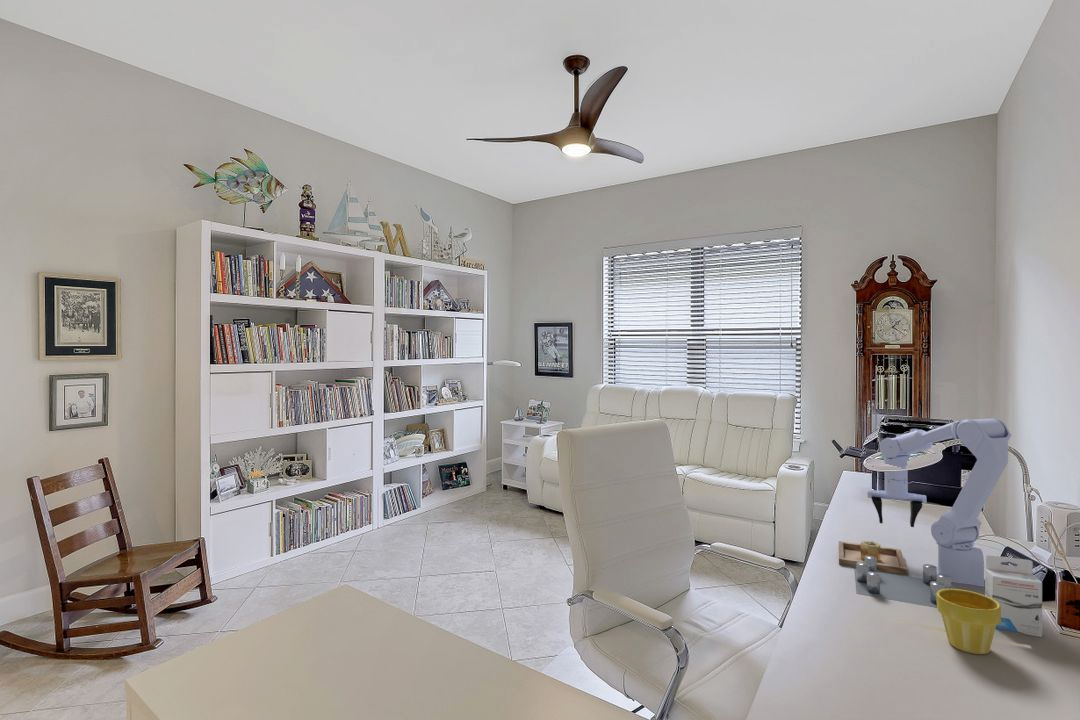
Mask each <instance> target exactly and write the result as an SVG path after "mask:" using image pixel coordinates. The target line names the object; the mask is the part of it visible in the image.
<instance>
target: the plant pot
mask: <svg viewBox="0 0 1080 720" xmlns="http://www.w3.org/2000/svg"><path fill="white" fill-rule="evenodd" d="M936 598H937V608H936V609H937V611H938V612H939V613H940V615H941V618H942V621H943V625H944V629H945V633H946V637H947V641H948V643H949V644H950V645H951V646H952V647H954V648H955V649H958V650H959V651H962V652H965V653H969V654H973V655H987V654H988V653H990V650H991V646H992V643H993V638H994V635H995V633H996V632H995V630H996V629H997V628H996V625H998V624H999V623H1000V621H1001V606H1000V604H999V603H998V602H997V601H995V600H994V599H992V598H990V597H987V596H985V594H982V593H979V592H976V591H971V590H966V589H959V588H951V589H942V590H939V591H938V592H937V594H936Z"/></svg>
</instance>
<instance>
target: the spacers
mask: <svg viewBox="0 0 1080 720" xmlns="http://www.w3.org/2000/svg"><path fill="white" fill-rule="evenodd" d="M855 568H856V570H857V581H858V582H860V583H865V584H867V591H868V592H869V593H871V594H880V574H878V573H877V571H878V570H877V558H876V557H873V556H865V563H863V562H857V563H856V567H855ZM936 569H937V567H936V566H935V565H933V564H928V563H924V564H923V565H922V578H923V583H924V584H926V585H930V602H931V603H933V604H936V605H937V598H936V594H937V592H938V591H939V590H942V589H952V582H951V577H950V576H948V575H944V574H936Z"/></svg>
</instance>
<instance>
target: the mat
mask: <svg viewBox="0 0 1080 720" xmlns="http://www.w3.org/2000/svg"><path fill="white" fill-rule="evenodd" d="M853 571H854V579H855V581H854V582H855V592H856V594H857V595H861V596H867V597H873V598H880V599H885V600H891V601H898V602H901V603H908V604H913V605H917V606H918V605H919V606H924V607H931V608H936V609H937V605H936V604H933V603H931V602H930V585H926V584H924V583H923V577H916V576H910V575H909V576H908V575H904V574H898V573H891V572H885V571H878V570H877V573H878V574H880V594H871V593H869V592H868V591H867V584H865V583H860V582H858V581H857V570H856V567H854V570H853Z"/></svg>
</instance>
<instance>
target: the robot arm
mask: <svg viewBox="0 0 1080 720" xmlns="http://www.w3.org/2000/svg"><path fill="white" fill-rule="evenodd" d="M1011 437H1012V433H1011V431H1010V430H1009V428H1008V426H1007V424H1006V423H1005V422H1003V420H1001V419H1000V418H997V417H988V418H979V419H978V418H977V419H970V418H969V419H963V420H958V421H953V422H950V423H947V424H944V425H942V426H939V427H935V428H934V429H930V430H927V431H926V430H923V429H918V428H911V429H909V432H907V433H904V434H902V433H900V434H899V433H898V434H896V435H895V437H892V438H891V437H886V438H884V439H882V440H881V441H880V442H879V448H878V449H879V452H880V454H881V455H882V456H883V457H884V458H883V460H884V462H883V464H884V463H885V464H889V465H893V466H897V467H901V468H902V469H906V468H905V467H906V466H907V465H908V463H907V461H908V460H909V461H910V456H911V455H912V454H916V453H920V452H924V451H926V450H929V449H931V448H932V446H933V443H937V442H941V441H945V440H950V439H955V440H960V442H961V443H962V444H963V445H964V446H965V447H966V448H967V449H968V451H969V452H971V454H972V455H973V456H974V457H975V459H976V461H975V463H974V466H973V467H972V469H971V471H970V473H969V474H968V476H967V479H966V481H965V483H964V485H963V486H962V488H961V490H960V492H959V494H958V496H957V498H956V500H955V501H954V503H953V505H952V507H951V508H950V509H949V510H947V511H946V512H945V513H943V514H942V515H941V516H940V518H939V519H938V520H937V521H934V522H933V523H932V524H931V527H930V533H931V536H932V538H933V539H934V541H935V543H936V545H937V557H938V558H937V560H938V561H937V568H936V575H937V574H944V575H948V576H950V577H951V583H958V584H964V585H970V586H978V587H985V559H984V553H983V550H982V549H981V548H979V547H975V546H974V544H975V542H976V541H978V540H979V538H980V527H981V525H982V521H981V520H980V519H979V518H978V517H979V515H980V513H981V512H982V510H983V508H984V506H985V505H986V502H987V501H988V499H989V497H990V495H992V492H993V491H994V489H995V487H996V485H997V483H998V482H999V480H1000V477H1001V476H1002V475H1003V472H1004V471H1005V468H1006V466H1008V462H1009V441H1010V439H1011ZM909 461H908V462H909ZM883 474H884V490H881V489H880V490H876V489H875V490H872V489H867V490H866V494H867V498H869V499H871V501H872V504H873V505H874V507H875V510H876V513H877V515H878V520H879V521H878V523H879V524H884V523H883V520H884V519H883V501H882V500H883V499H884V500H894V501H904V502H909V503H910V517H909V525H910V527H911V528H915V524H916V519H917V517H918V514H920V511H921V509H922V508H923V504H927V495H925V494H919V493H918V494H917V493H913V492H912V493H911V492H908V491H909V482H908V481H909V479H908V478H909V477H908V475H909V474H908V470H905V471H886V472H884V473H883Z"/></svg>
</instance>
